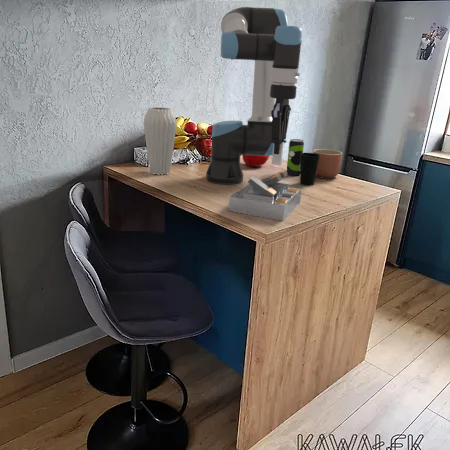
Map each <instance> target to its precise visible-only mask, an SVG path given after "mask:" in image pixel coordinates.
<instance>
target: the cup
mask: <svg viewBox="0 0 450 450" xmlns="http://www.w3.org/2000/svg"><path fill="white" fill-rule="evenodd" d="M319 158H320V155H319V154H315V153H313V152H303V153H301V156H300V175H299V184H300V185H303V186H308V187H309V186H314V185H315V180H316V178H317V176H316V172H317V167H318V163H319Z"/></svg>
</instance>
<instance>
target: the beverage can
mask: <svg viewBox="0 0 450 450" xmlns="http://www.w3.org/2000/svg"><path fill="white" fill-rule="evenodd" d="M304 147H305V141H304V140H303V139H300V138H292V139H291V138H290V140H289V143H288V152H287V153H288V155H287V163H286V172H287V176H296V177H297V176H300V156H301V153H304Z"/></svg>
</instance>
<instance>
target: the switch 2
mask: <svg viewBox="0 0 450 450" xmlns="http://www.w3.org/2000/svg"><path fill="white" fill-rule="evenodd" d="M247 184H250V185H252V186H253V187H254V188H256V189H257V190H259V191H260V192H261V193H263V194H264V195H265V196H269V197H274V196H275V194H276V192H277V191H275V190H274V189H272V188H271V187H268V186H267V185H265V184H264V183H263V182H261V180H260V179H259V178H257V177H256V176H254V175H253V176H252V177H250V178H249V179H248V181H247Z"/></svg>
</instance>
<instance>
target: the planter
mask: <svg viewBox="0 0 450 450" xmlns="http://www.w3.org/2000/svg"><path fill="white" fill-rule="evenodd" d="M312 153H315V154H319V155H320V158H319V163H318V167H317V172H316V178H317V177H318V178H321V179H333V178H336V177H337V176H338V175H339V173H340V172H341V171H340V170H341V165H342V160H343V152H342V151H339V150H335V149H328V148H319V149H318V148H317V149H314V150H313V151H312Z"/></svg>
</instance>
